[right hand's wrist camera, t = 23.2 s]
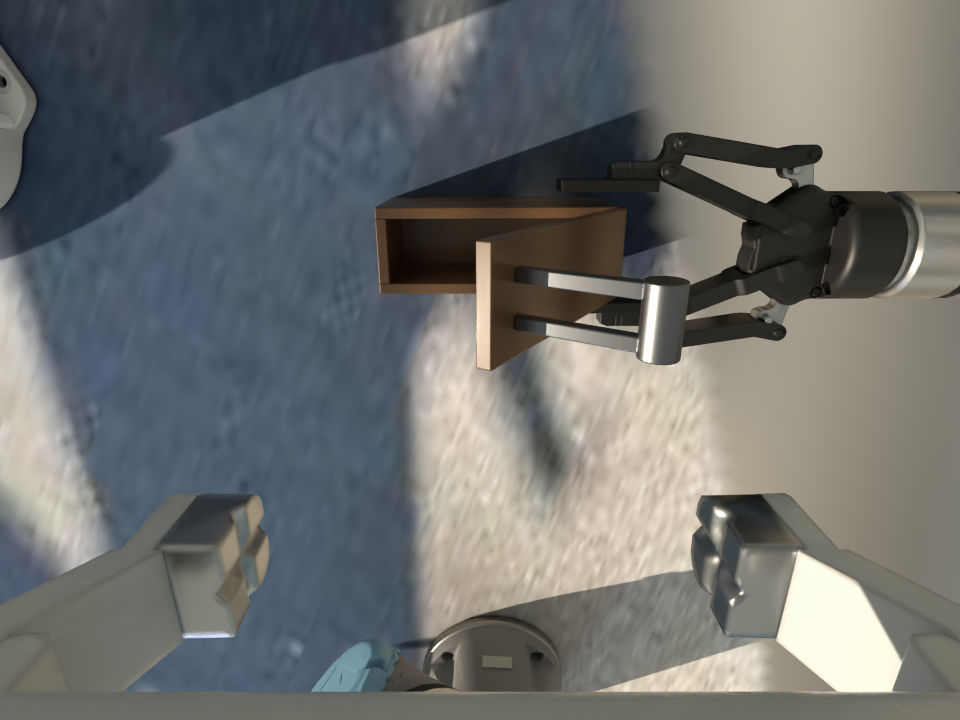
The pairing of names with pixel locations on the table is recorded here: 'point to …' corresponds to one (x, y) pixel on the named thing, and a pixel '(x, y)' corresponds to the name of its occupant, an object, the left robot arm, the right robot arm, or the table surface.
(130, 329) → the table surface
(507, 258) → the lid
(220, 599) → the right robot arm
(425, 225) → the chest
